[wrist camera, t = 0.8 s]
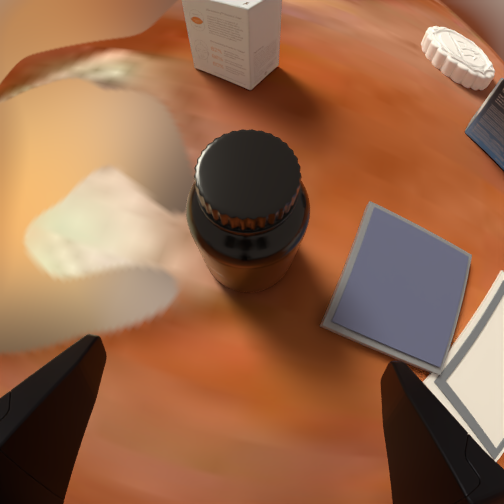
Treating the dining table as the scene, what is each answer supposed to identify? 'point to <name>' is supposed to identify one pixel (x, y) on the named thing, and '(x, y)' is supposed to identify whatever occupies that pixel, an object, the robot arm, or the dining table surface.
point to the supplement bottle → (248, 209)
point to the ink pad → (399, 290)
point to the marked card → (477, 374)
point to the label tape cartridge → (490, 125)
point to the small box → (234, 38)
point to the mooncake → (457, 58)
